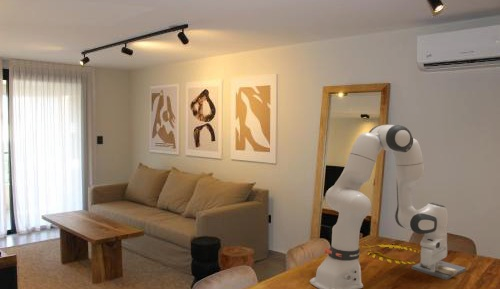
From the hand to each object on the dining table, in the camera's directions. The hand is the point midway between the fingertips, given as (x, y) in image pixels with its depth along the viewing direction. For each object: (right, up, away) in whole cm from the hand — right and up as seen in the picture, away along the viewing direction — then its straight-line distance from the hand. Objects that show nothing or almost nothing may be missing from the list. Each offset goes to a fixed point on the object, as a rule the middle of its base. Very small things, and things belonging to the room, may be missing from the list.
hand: (433, 271), depth 171 cm
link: (+4, -1, +5) cm, 6 cm away
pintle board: (+7, -2, +9) cm, 11 cm away
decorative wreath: (-7, -2, +33) cm, 34 cm away
